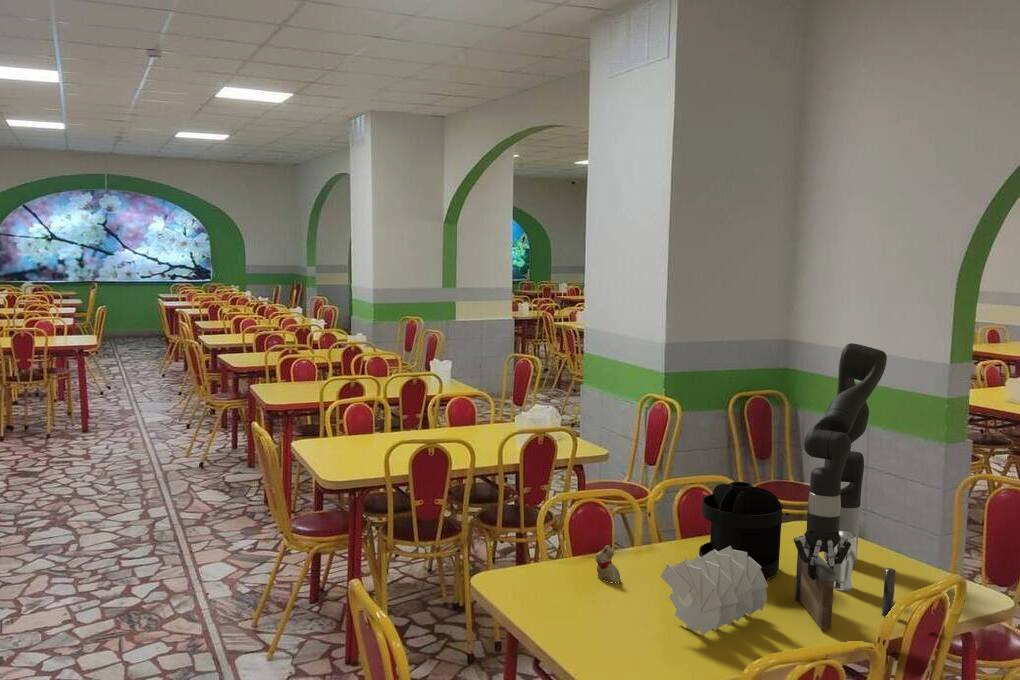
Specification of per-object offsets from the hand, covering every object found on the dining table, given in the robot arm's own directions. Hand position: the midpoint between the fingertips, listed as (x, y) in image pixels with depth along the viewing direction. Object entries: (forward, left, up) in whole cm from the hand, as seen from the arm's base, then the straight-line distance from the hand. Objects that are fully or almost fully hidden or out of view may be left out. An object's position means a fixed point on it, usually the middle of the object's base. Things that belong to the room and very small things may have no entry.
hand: (820, 578), depth 210 cm
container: (-28, -24, -11) cm, 39 cm away
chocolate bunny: (-3, -55, -11) cm, 56 cm away
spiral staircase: (+12, -23, -11) cm, 28 cm away
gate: (-2, -1, -10) cm, 10 cm away
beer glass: (-27, +4, -11) cm, 30 cm away
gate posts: (-12, +5, -11) cm, 17 cm away
